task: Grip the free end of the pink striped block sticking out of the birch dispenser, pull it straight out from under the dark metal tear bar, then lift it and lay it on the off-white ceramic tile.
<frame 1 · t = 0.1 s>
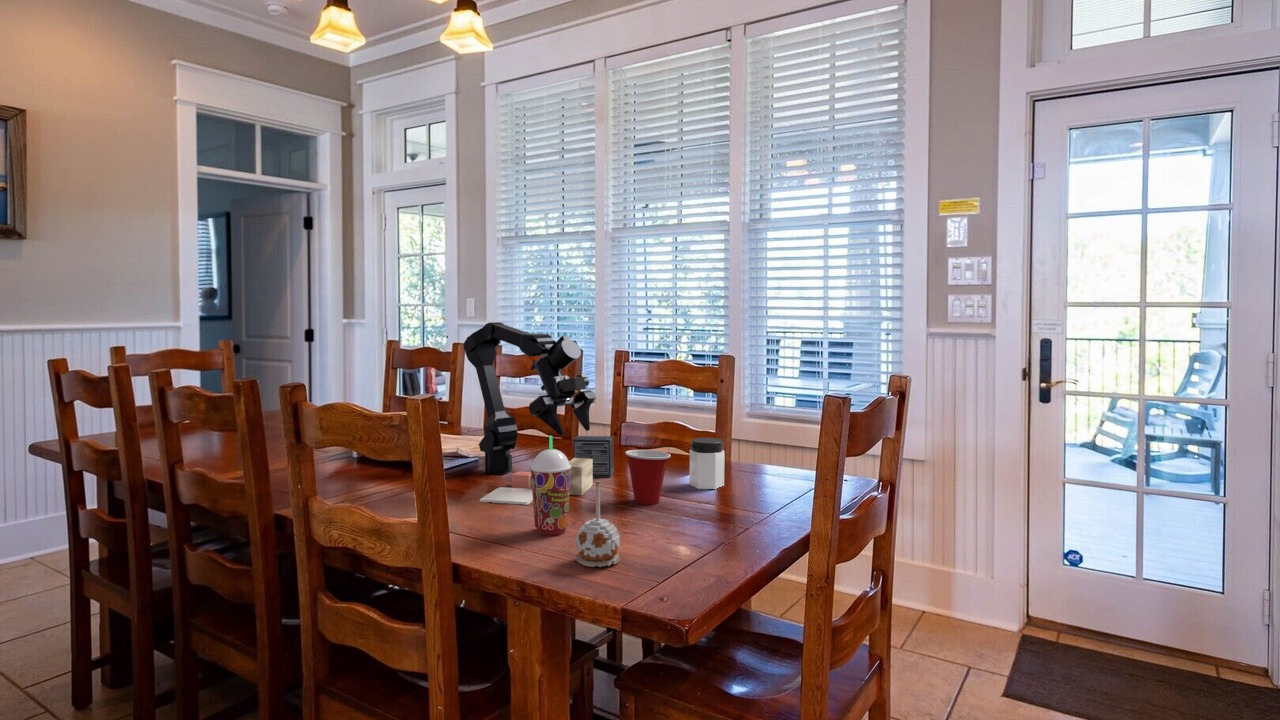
hand: (575, 432, 182), 15 cm above the table, tool tilted 30°, fingers open, 9 cm apart
plastic cup: (647, 502, 174), on the table
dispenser: (560, 488, 185), on the table
smoothie: (551, 532, 150), on the table
jar: (706, 486, 189), on the table
small box: (593, 475, 201), on the table
pink striped block: (540, 487, 186), on the table
caramel apple: (598, 563, 133), on the table
tile: (512, 496, 177), on the table
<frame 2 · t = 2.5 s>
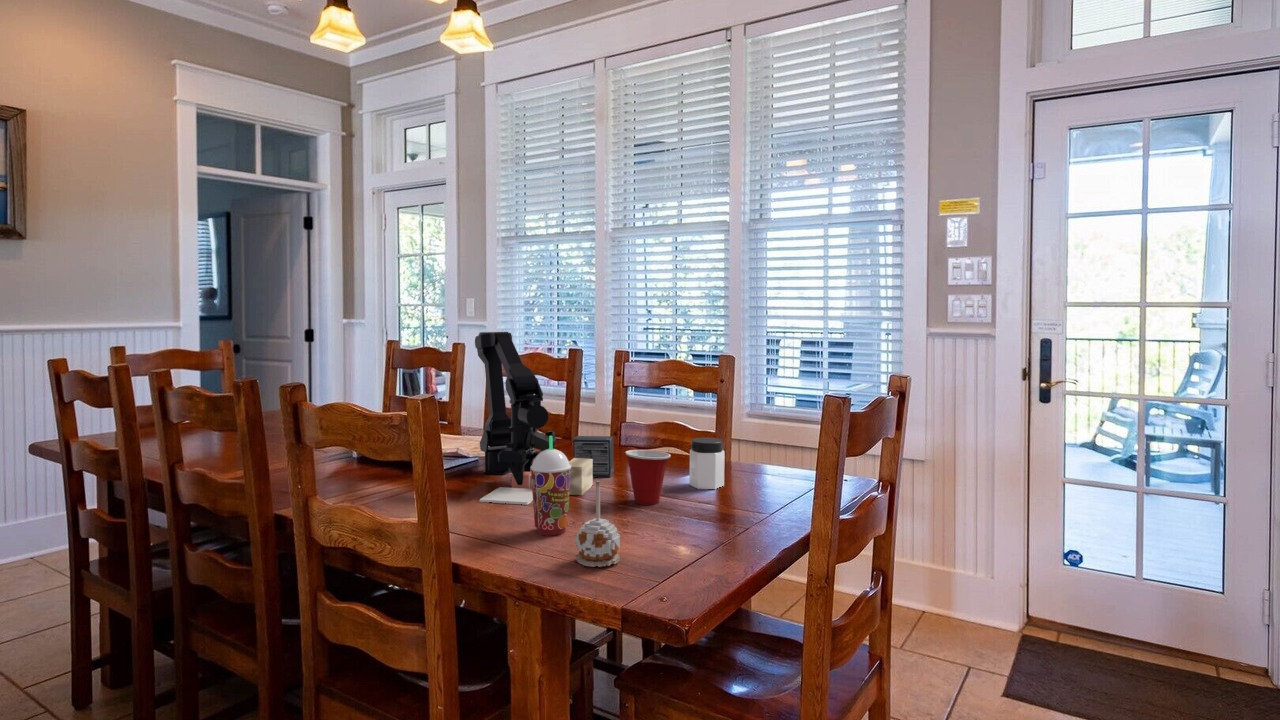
hand: (522, 482, 187), 1 cm above the table, tool pointing down, fingers closed on pink striped block, 4 cm apart
pink striped block: (540, 487, 186), on the table, touching gripper
everything else where it was.
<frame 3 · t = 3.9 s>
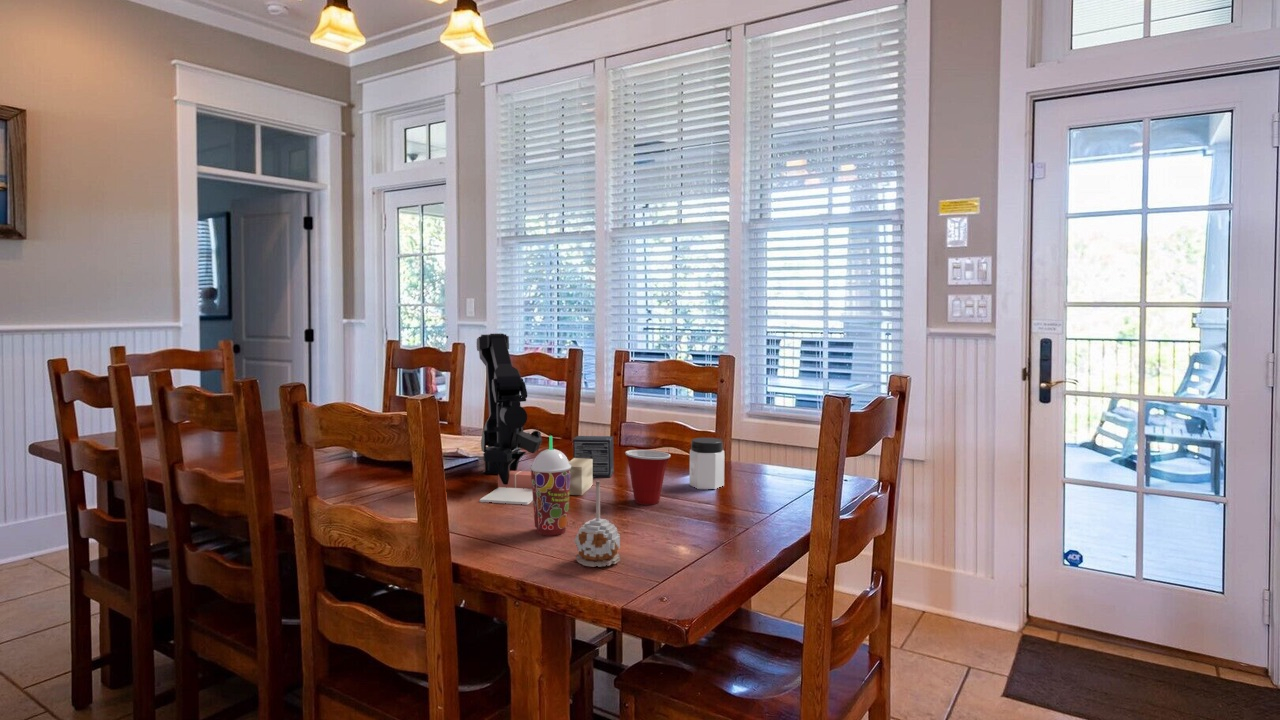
hand: (508, 482, 188), 1 cm above the table, tool pointing down, fingers closed on pink striped block, 4 cm apart
pink striped block: (526, 486, 187), on the table, touching gripper
everything else where it was.
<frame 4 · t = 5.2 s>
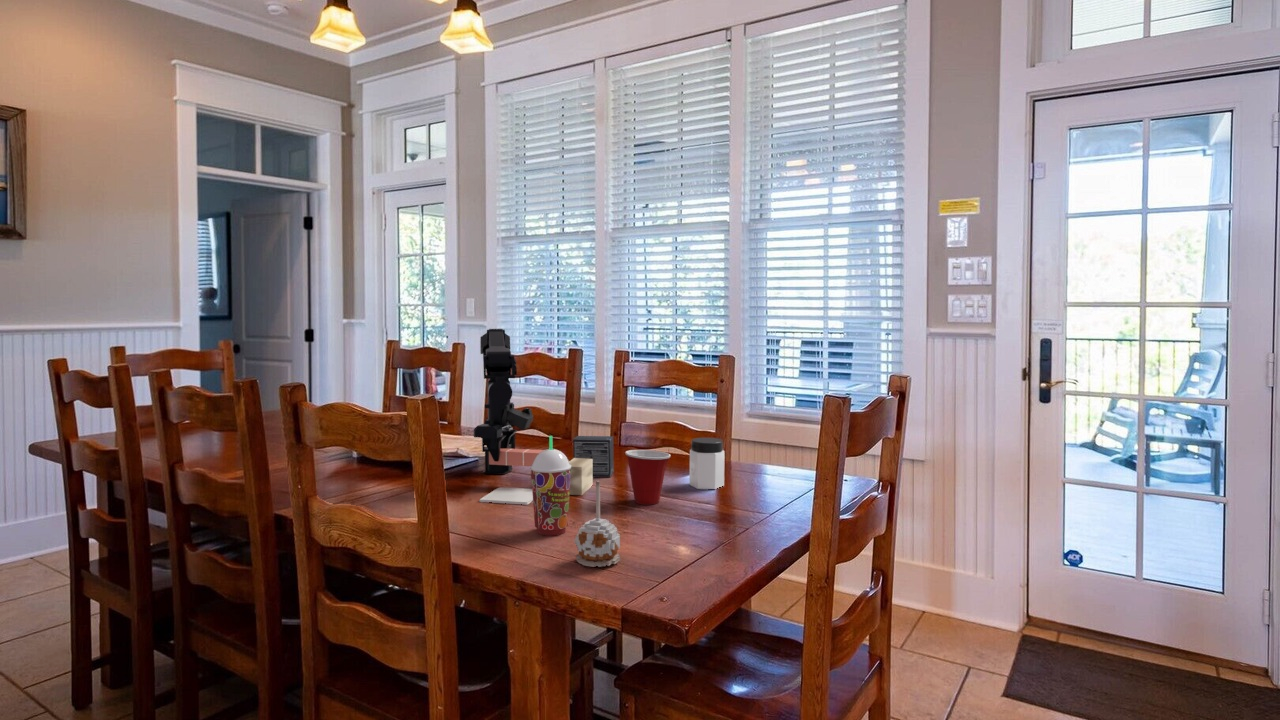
hand: (499, 459, 188), 7 cm above the table, tool pointing down, fingers closed on pink striped block, 4 cm apart
pink striped block: (517, 464, 187), point 6 cm above the table, touching gripper
everything else where it was.
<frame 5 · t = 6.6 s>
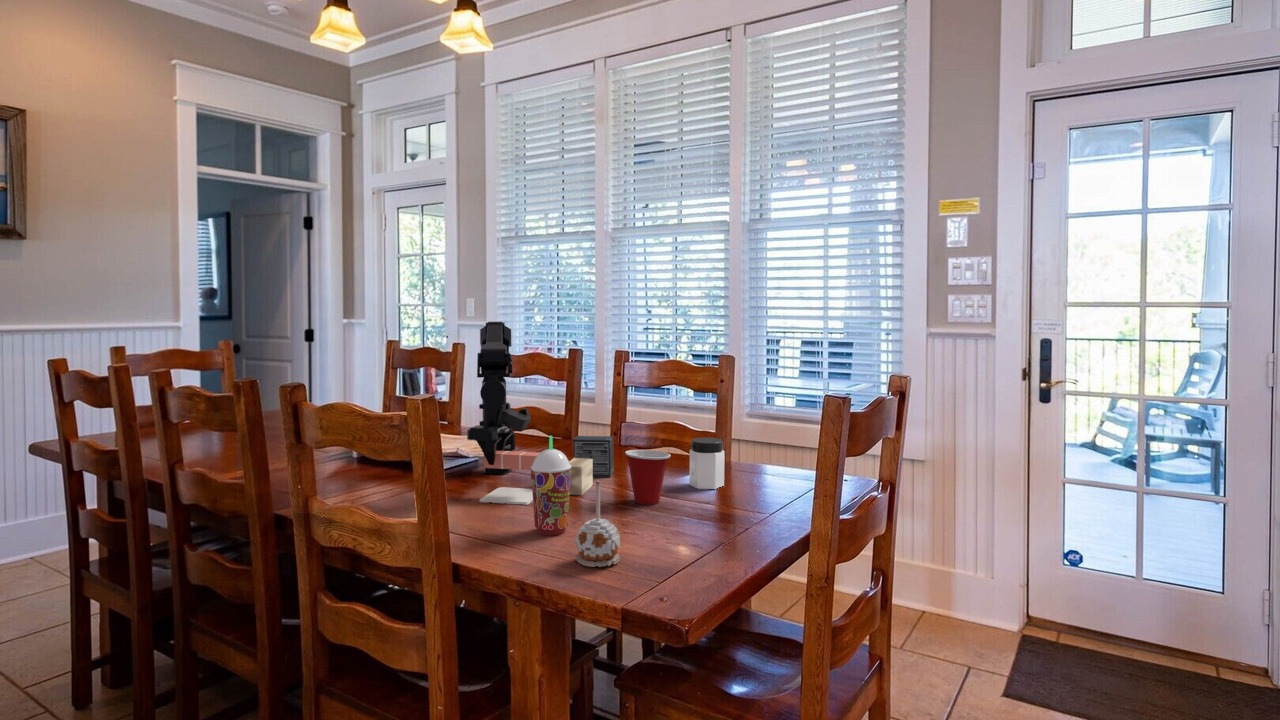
hand: (495, 462, 178), 8 cm above the table, tool pointing down, fingers closed on pink striped block, 4 cm apart
pink striped block: (514, 467, 177), point 7 cm above the table, touching gripper
everything else where it was.
when the fingers open (3 cm above the table, at t = 7.7 s): pink striped block drops 2 cm, resting on tile.
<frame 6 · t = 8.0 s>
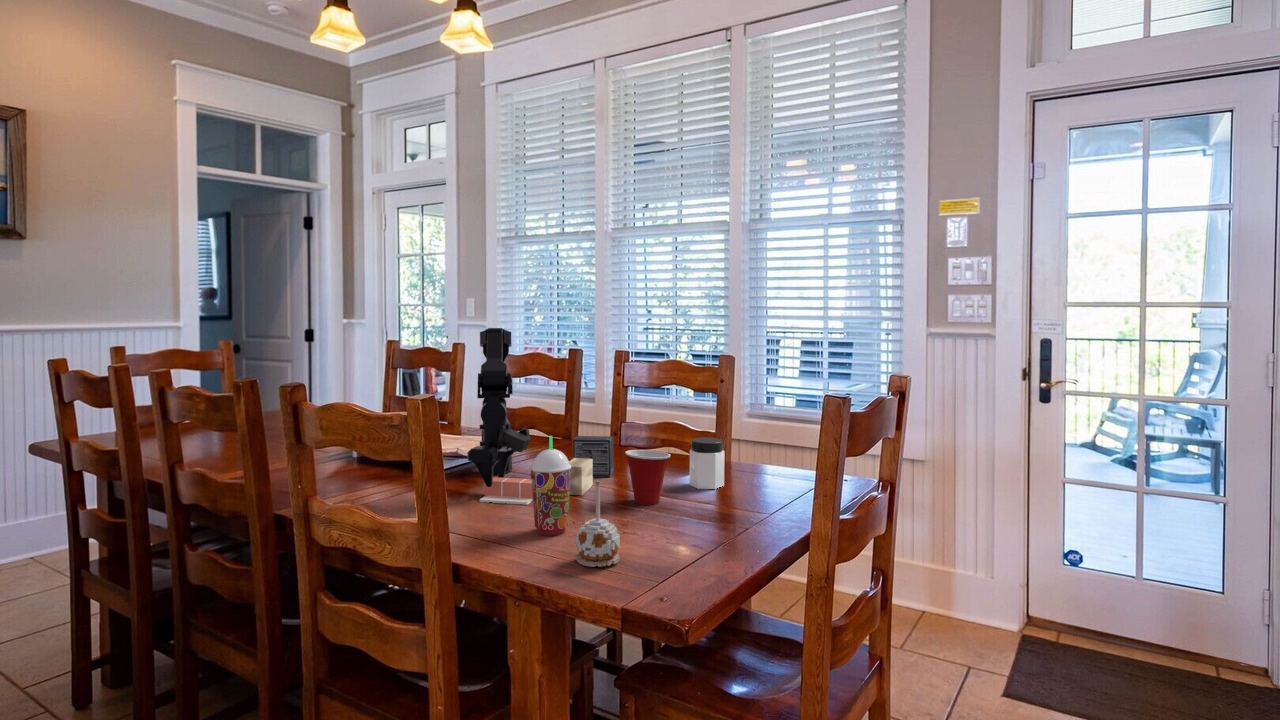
hand: (495, 482, 178), 3 cm above the table, tool pointing down, fingers open, 7 cm apart
pink striped block: (514, 494, 177), point 1 cm above the table, touching tile
everything else where it was.
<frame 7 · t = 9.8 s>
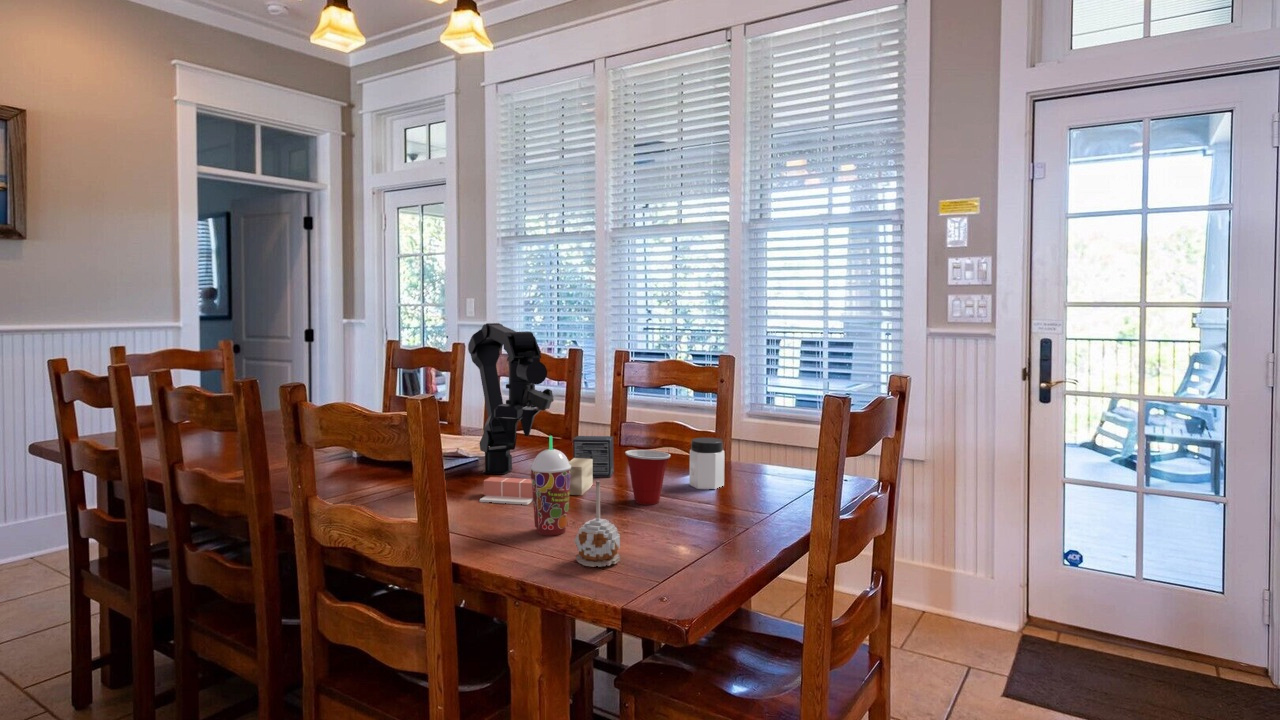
hand: (519, 439, 190), 12 cm above the table, tool pointing down, fingers open, 9 cm apart
nothing on the table moved.
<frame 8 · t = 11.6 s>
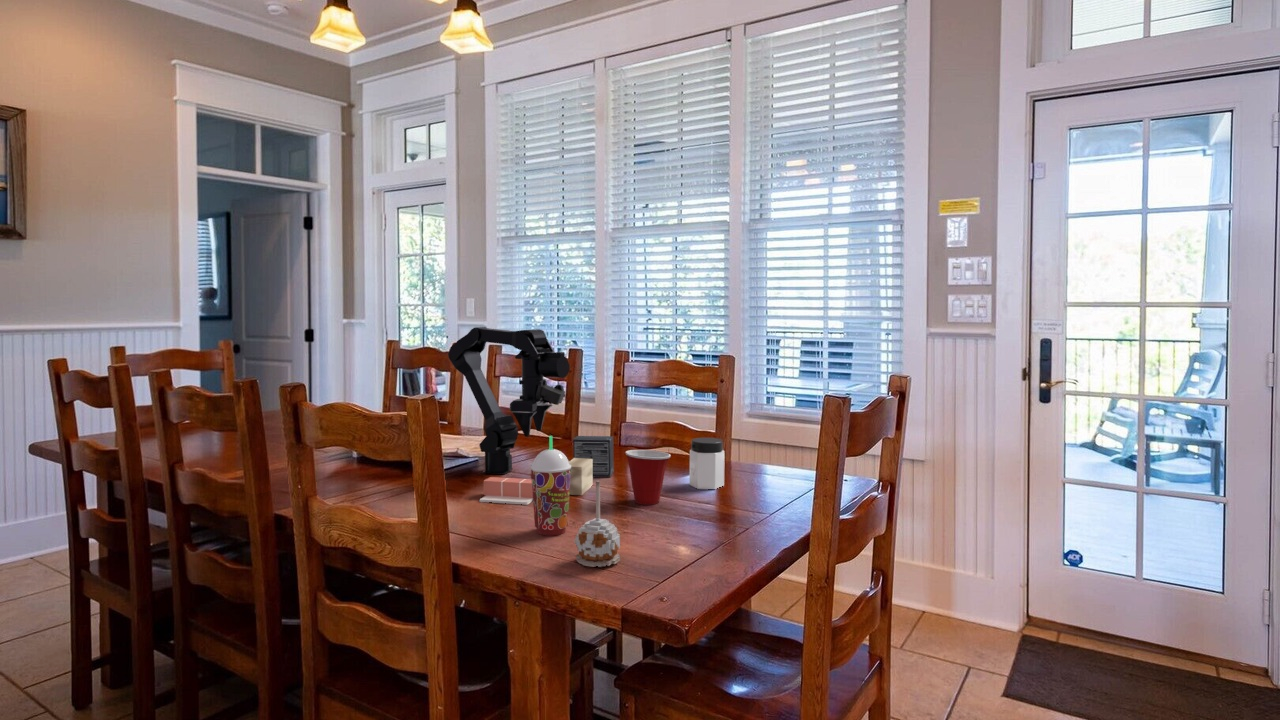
hand: (533, 433, 196), 12 cm above the table, tool pointing down, fingers open, 9 cm apart
nothing on the table moved.
at the end: pink striped block inside the target area on the tile (0.3 cm from its centre), point 0.6 cm above the tile's base; pink striped block touching tile; the gripper is holding nothing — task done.
